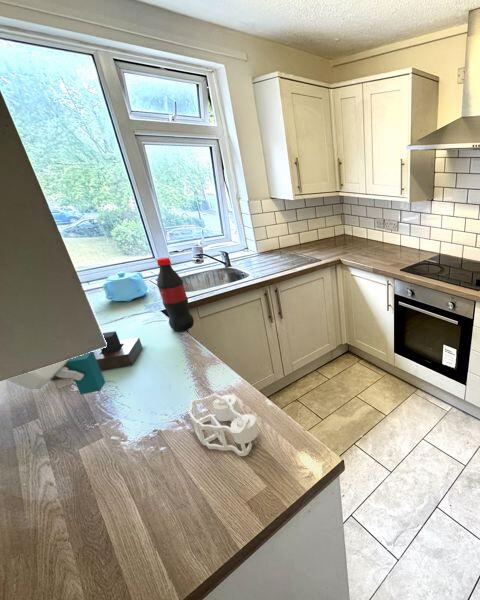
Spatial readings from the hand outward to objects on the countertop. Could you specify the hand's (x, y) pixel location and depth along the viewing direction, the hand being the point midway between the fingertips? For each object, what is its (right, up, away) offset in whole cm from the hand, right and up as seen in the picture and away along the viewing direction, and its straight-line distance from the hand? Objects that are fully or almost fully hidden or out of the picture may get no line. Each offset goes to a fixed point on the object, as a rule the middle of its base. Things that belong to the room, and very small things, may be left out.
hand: (89, 370), depth 85 cm
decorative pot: (-56, +20, +81) cm, 100 cm away
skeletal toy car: (+37, -16, -1) cm, 40 cm away
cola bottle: (-9, +7, +51) cm, 52 cm away
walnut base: (-22, -3, +28) cm, 36 cm away
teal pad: (-1, -5, +2) cm, 5 cm away
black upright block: (-18, -2, +29) cm, 35 cm away
